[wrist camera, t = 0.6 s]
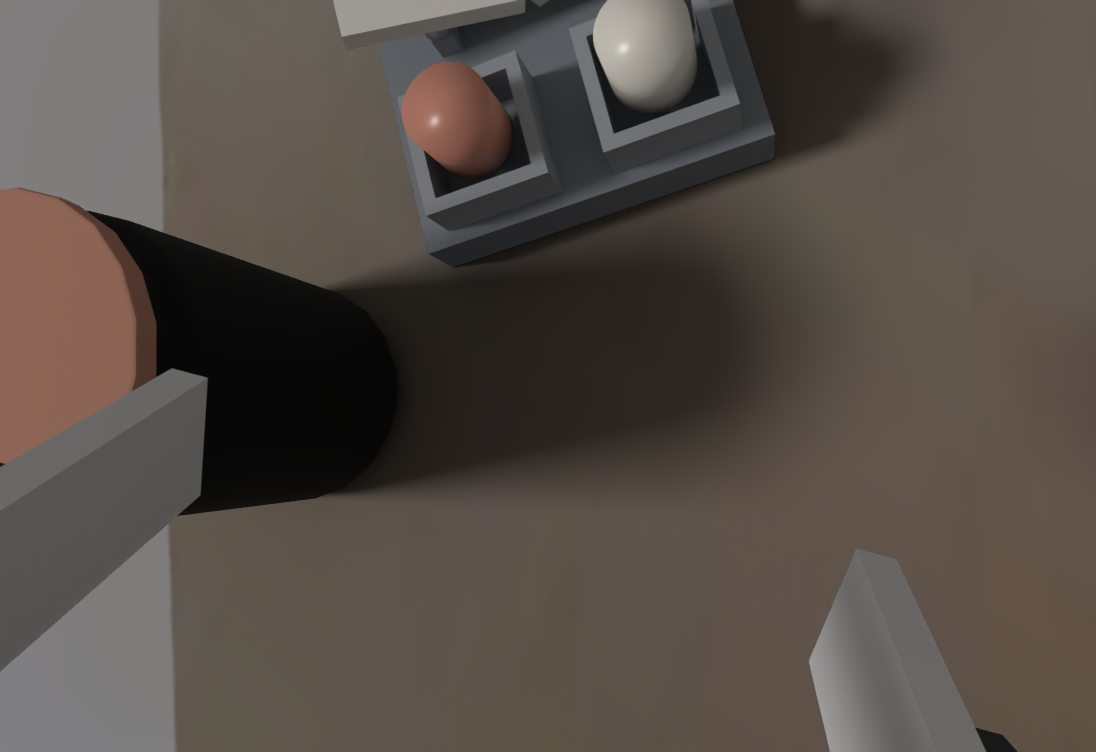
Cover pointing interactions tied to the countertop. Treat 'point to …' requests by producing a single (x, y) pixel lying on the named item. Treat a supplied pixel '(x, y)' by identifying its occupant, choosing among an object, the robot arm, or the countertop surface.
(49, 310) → the coffee jar
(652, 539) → the countertop surface
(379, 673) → the countertop surface
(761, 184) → the countertop surface
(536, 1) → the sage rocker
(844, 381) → the countertop surface
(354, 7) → the block
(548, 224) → the panel
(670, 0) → the ivory button
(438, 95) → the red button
